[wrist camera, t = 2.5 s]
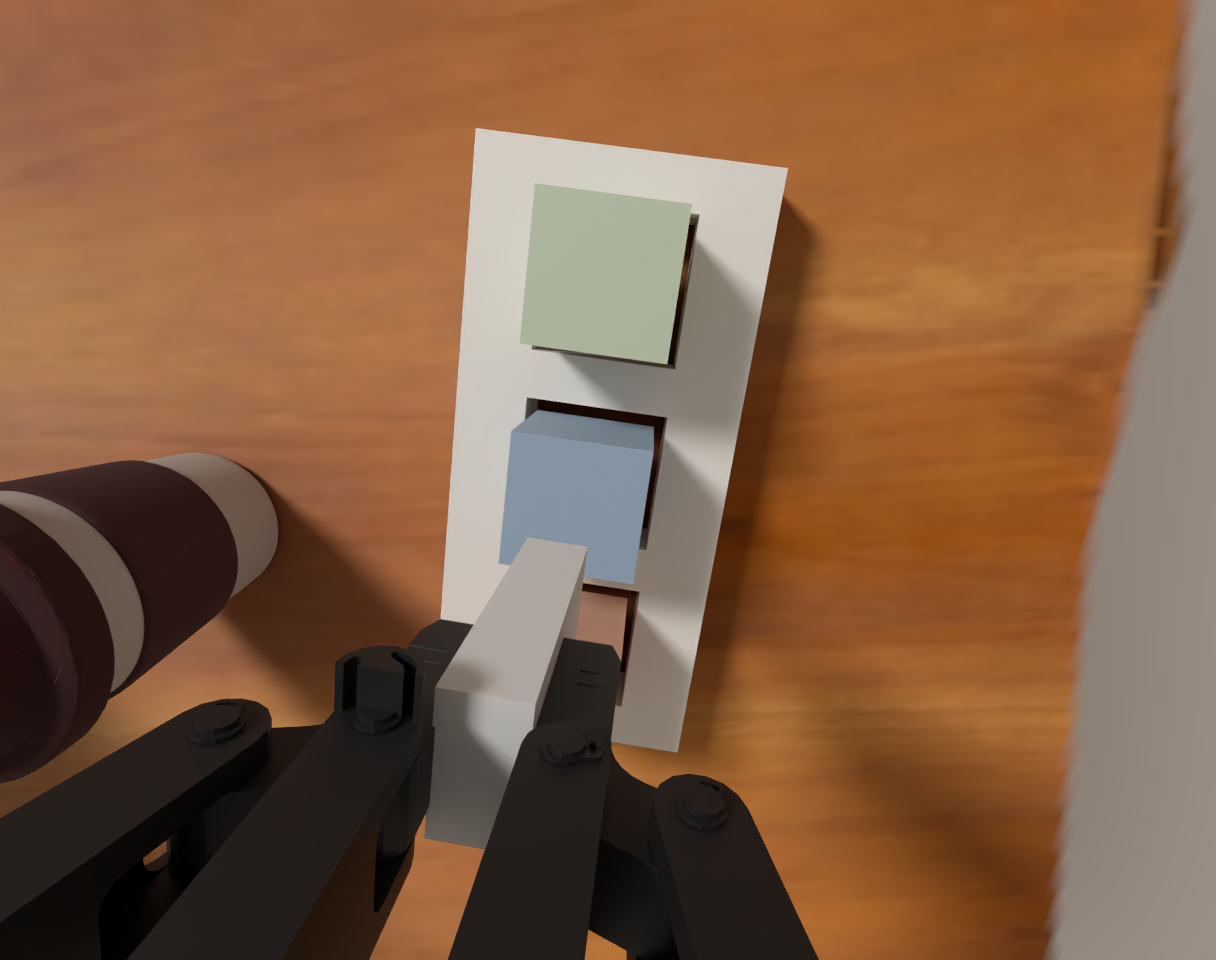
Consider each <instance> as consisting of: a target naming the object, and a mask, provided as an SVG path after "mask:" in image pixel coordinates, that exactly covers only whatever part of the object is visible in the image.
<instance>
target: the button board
mask: <svg viewBox="0 0 1216 960" xmlns="http://www.w3.org/2000/svg"><path fill="white" fill-rule="evenodd" d="M787 170H788V168H781V167H774V166H766V165H758V164H750V163H742V162H735V161H727V160H719V159H711V158H704V157H696V156H688V155H680V154H672V153H665V152H657V151H649V150H641V149H633V148H626V147H618V146H610V145H602V144H594V143H587V142H579V141H571V140H563V139H555V138H548V137H540V136H532V135H524V134H517V133H509V132H501V131H493V130H485V129H478V128H476V133H475V147H474V161H473V175H472V189H471V203H470V217H469V231H468V245H467V259H466V273H465V287H464V300H463V314H462V328H461V342H460V356H459V370H458V384H457V398H456V412H455V426H454V440H453V454H452V467H451V481H450V495H449V509H448V523H447V537H446V551H445V565H444V579H443V593H442V607H441V619H443V620H449V621H455V622H461V623H467V624H475V622H476V620H477V619H478V617H479V616H480V614H481V612H482V611H483V609H484V607H485V606H486V604H487V603H488V601H489V599H490V598H491V596H492V595H493V593H494V591H495V590H496V588H497V586H498V585H499V583H500V582H501V580H502V578H503V577H504V575H505V574H506V572H507V570H508V569H509V567H510V566H511V565H504V564H499V555H500V544H501V534H502V523H503V513H504V502H505V492H506V481H507V471H508V460H509V450H510V439H511V431H512V430H513V429H514V428H516V427H517V426H518V425H519V424H521V423H522V422H523V421H525V420H526V419H527V418H528V417H530V416H531V415H532V414H534V413H535V412H536V411H537V407H538V399H542V400H549V401H556V402H563V403H570V404H577V405H584V406H591V407H598V408H605V409H612V410H619V411H626V412H633V413H639V414H646V415H653V416H660V417H665V420H664V426H663V432H662V439H661V445H660V451H659V458H658V464H657V470H656V477H655V483H654V489H653V496H652V502H651V508H650V515H649V521H648V527H647V529H645V528H642V530H641V536H640V543H639V549H638V556H637V562H636V569H635V575H634V581H633V584H628V583H621V582H615V581H608V580H602V579H595V578H589V577H584V579H583V583H587V584H593V585H600V586H606V587H613V588H619V589H626V590H632V591H637V597H636V603H635V610H634V616H633V622H632V629H631V635H630V641H629V648H628V654H627V660H626V667H625V673H623V672H619V680H618V689H617V697H616V705H615V713H614V721H613V729H612V737H611V742H615V743H621V744H627V745H633V746H639V747H646V748H652V749H658V750H664V751H670V752H676V753H677V752H678V747H679V742H680V737H681V731H682V726H683V721H684V715H685V710H686V705H687V699H688V694H689V689H690V684H691V678H692V673H693V668H694V662H695V657H696V652H697V647H698V641H699V636H700V631H701V625H702V620H703V615H704V610H705V604H706V599H707V594H708V588H709V583H710V578H711V572H712V567H713V562H714V557H715V551H716V546H717V541H718V535H719V530H720V525H721V520H722V514H723V509H724V504H725V498H726V493H727V488H728V482H729V477H730V472H731V467H732V461H733V456H734V451H735V445H736V440H737V435H738V430H739V424H740V419H741V414H742V408H743V403H744V398H745V393H746V387H747V382H748V377H749V371H750V366H751V361H752V355H753V350H754V345H755V340H756V334H757V329H758V324H759V318H760V313H761V308H762V303H763V297H764V292H765V287H766V281H767V276H768V271H769V265H770V260H771V255H772V250H773V244H774V239H775V234H776V228H777V223H778V218H779V213H780V207H781V202H782V197H783V191H784V186H785V181H786V176H787ZM535 183H537V184H544V185H552V186H560V187H567V188H575V189H582V190H590V191H598V192H605V193H613V194H621V195H628V196H636V197H643V198H651V199H659V200H666V201H674V202H682V203H689V204H692V208H691V215H690V221H689V225H695V229H694V236H693V242H692V248H691V255H690V261H689V267H688V274H687V280H686V286H685V293H684V299H683V305H682V312H681V318H680V324H679V331H678V337H677V343H676V350H675V356H674V362H673V364H661V363H654V362H647V361H640V360H633V359H626V358H618V357H611V356H604V355H597V354H590V353H583V352H576V351H569V350H562V349H554V348H547V347H540V346H533V345H526V344H520V335H521V324H522V314H523V303H524V293H525V282H526V272H527V261H528V251H529V240H530V230H531V219H532V209H533V198H534V188H535Z"/></svg>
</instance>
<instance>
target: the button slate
mask: <svg viewBox="0 0 1216 960" xmlns="http://www.w3.org/2000/svg"><path fill="white" fill-rule="evenodd" d="M653 453H654V427H652V426H646V425H639V424H632V423H625V422H618V421H611V420H604V419H597V418H590V417H583V416H576V415H569V414H562V413H555V412H549V411H542V410H537V411H536V412H535V413H534V414H532V415H531V416H530V417H528V418H527V419H526V420H525V421H523V422H522V423H521V424H519V425H518V426H517V427H516V428H514V429H513V430H512V431H511V439H510V450H509V460H508V471H507V481H506V492H505V502H504V513H503V523H502V534H501V544H500V555H499V564H504V565H511V564H512V562H513V561H514V559H515V557H516V556H517V554H518V553H519V551H520V549H521V548H522V546H523V545H524V543H525V541H526V540H527V538H528V537H529V538H536V539H542V540H548V541H555V542H561V543H567V544H574V545H580V546H587V547H588V549H587V557H586V564H585V572H584V577H589V578H595V579H602V580H608V581H615V582H621V583H628V584H633V581H634V575H635V569H636V562H637V556H638V549H639V543H640V536H641V530H642V524H643V517H644V511H645V504H646V498H647V491H648V485H649V479H650V472H651V466H652V459H653Z"/></svg>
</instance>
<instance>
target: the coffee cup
mask: <svg viewBox="0 0 1216 960" xmlns="http://www.w3.org/2000/svg"><path fill="white" fill-rule="evenodd" d="M277 542H278V521H277V516H276V512H275V509H274V506H273V504H272V502H271V499H270V498H269V496H268V494H267V493H266V491H265V489H264V488H263V487H262V486H261V484H260V483H259V482H258V481H257V480H256V479H255V478H254V477H253V476H252V475H251V474H250V473H249V472H248V471H246V470H245V469H243V468H242V467H241V466H239V465H238V464H236V463H234V462H232V461H230V460H228V459H225V458H222V457H219V456H216V455H212V454H205V453H185V454H179V455H174V456H169V457H163V458H158V459H153V460H148V461H133V460H131V461H118V462H111V463H105V464H100V465H94V466H89V467H83V468H78V469H72V470H67V471H61V472H56V473H50V474H45V475H39V476H34V477H28V478H23V479H17V480H12V481H6V482H1V483H0V783H4V782H8V781H13V780H16V779H19V778H22V777H24V776H26V775H28V774H30V773H32V772H34V771H36V770H37V769H39V768H41V767H42V766H44V765H45V764H47V763H48V762H50V761H51V760H52V759H54V758H55V757H56V756H58V755H59V754H61V753H62V752H63V751H65V750H66V749H67V748H69V747H70V746H71V745H73V744H74V743H76V742H77V741H78V740H79V739H80V738H82V737H83V736H84V735H85V734H86V733H87V732H88V731H89V730H90V729H91V728H92V726H93V725H94V724H95V723H96V721H97V720H98V718H99V717H100V715H101V713H102V712H103V710H104V708H105V707H106V704H107V702H108V699H110V698H112V697H114V696H115V695H117V694H119V693H120V692H122V691H123V690H124V689H126V688H127V687H128V686H130V685H131V684H132V683H134V682H135V681H136V680H137V679H139V678H140V677H141V676H142V675H144V674H145V673H146V672H147V671H148V670H150V669H151V668H152V667H153V666H155V665H156V664H157V663H158V662H160V661H161V660H162V659H163V658H164V657H166V656H167V655H168V654H169V653H171V652H172V651H173V650H174V649H176V648H177V647H178V646H179V645H181V644H182V643H183V642H184V641H185V640H187V639H188V638H189V637H190V636H192V635H193V634H194V633H195V632H197V631H198V630H199V629H200V628H202V627H203V626H204V625H205V624H206V623H208V622H209V621H210V620H211V619H213V618H214V617H215V616H216V615H217V614H218V613H219V612H220V611H221V610H222V609H223V608H224V606H225V605H226V603H227V602H228V600H229V599H230V598H232V597H233V596H234V595H235V594H237V593H238V592H239V591H241V590H242V589H243V588H244V587H246V586H247V585H248V584H249V583H251V582H252V581H253V580H254V579H256V578H257V577H258V576H259V575H260V574H261V573H262V572H263V571H264V570H265V568H266V567H267V566H268V565H269V563H270V561H271V559H272V557H273V555H274V554H275V550H276V547H277Z"/></svg>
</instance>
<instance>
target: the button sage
mask: <svg viewBox="0 0 1216 960" xmlns="http://www.w3.org/2000/svg"><path fill="white" fill-rule="evenodd" d="M691 208H692V204H689V203H682V202H674V201H666V200H659V199H651V198H643V197H636V196H628V195H621V194H613V193H605V192H598V191H590V190H582V189H575V188H567V187H560V186H552V185H544V184H537V183H535V188H534V198H533V209H532V219H531V230H530V240H529V251H528V261H527V272H526V282H525V293H524V303H523V314H522V324H521V335H520V344H526V345H533V346H540V347H547V348H554V349H562V350H569V351H576V352H583V353H590V354H597V355H604V356H611V357H618V358H626V359H633V360H640V361H647V362H654V363H661V364H667V363H668V356H669V350H670V343H671V337H672V331H673V324H674V318H675V311H676V305H677V298H678V292H679V286H680V279H681V273H682V266H683V260H684V253H685V247H686V240H687V234H688V228H689V221H690V215H691Z"/></svg>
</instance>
